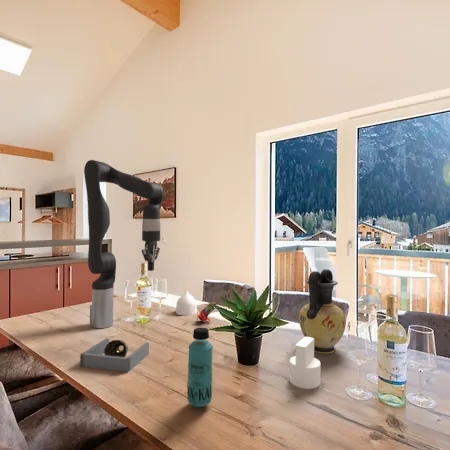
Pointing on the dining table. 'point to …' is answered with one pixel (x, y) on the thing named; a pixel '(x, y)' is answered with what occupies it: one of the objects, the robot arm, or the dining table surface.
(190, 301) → the teardrop
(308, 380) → the cylinder with rectangular tab
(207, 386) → the beverage bottle
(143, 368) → the dining table surface
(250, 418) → the dining table surface
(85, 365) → the box
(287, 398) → the dining table surface
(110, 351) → the cup
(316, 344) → the amphora
